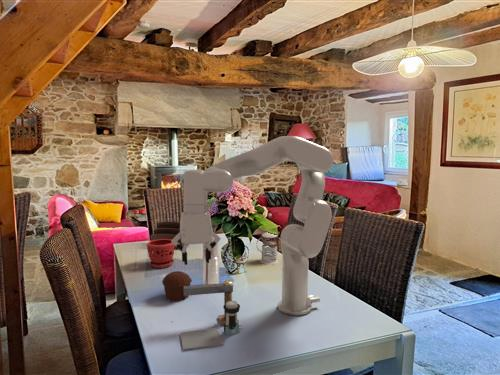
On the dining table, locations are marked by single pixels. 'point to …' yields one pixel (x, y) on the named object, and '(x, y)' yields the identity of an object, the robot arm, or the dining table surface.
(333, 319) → the dining table surface
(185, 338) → the rubber mat
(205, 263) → the water bottle
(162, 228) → the letter holder
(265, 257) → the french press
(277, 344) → the dining table surface
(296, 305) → the robot arm
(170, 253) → the plant pot
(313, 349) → the dining table surface
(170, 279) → the muffin
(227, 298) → the post
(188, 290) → the steel strap
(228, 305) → the push button
